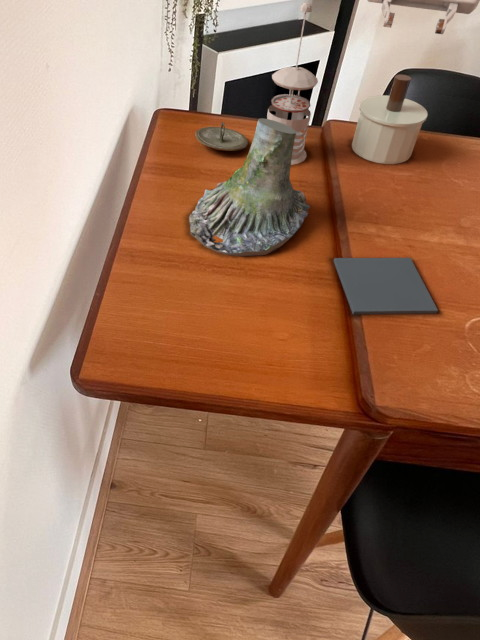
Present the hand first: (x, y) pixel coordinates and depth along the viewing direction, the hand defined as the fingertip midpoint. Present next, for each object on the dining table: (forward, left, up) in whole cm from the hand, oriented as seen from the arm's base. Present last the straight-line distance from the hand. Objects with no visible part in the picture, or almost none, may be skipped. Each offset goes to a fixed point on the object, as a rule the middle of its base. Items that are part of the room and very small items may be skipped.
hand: (413, 28), depth 98 cm
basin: (+3, +9, -19) cm, 21 cm away
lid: (+35, +8, -19) cm, 41 cm away
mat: (+15, +51, -19) cm, 57 cm away
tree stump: (+33, +34, -19) cm, 51 cm away
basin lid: (+3, +9, -11) cm, 15 cm away
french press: (+23, +10, -19) cm, 32 cm away
